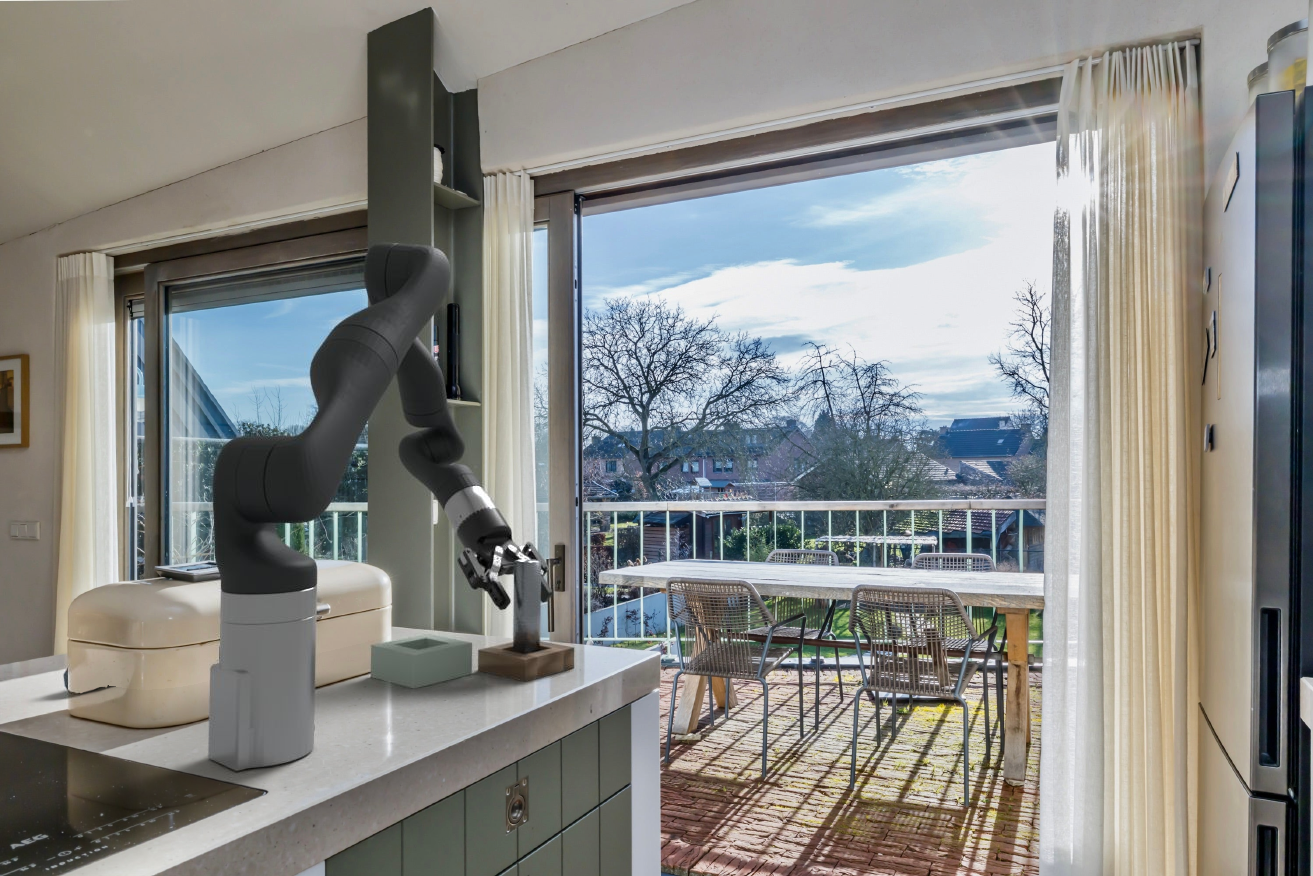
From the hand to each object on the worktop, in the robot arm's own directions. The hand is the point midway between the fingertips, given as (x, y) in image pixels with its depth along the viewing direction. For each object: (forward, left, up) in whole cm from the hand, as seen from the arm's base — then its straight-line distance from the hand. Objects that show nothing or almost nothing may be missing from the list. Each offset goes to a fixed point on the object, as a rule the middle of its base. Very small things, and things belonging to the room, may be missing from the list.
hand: (527, 602), depth 123 cm
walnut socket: (0, 0, -10) cm, 10 cm away
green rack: (-12, +9, -10) cm, 18 cm away
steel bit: (0, 0, -10) cm, 10 cm away
